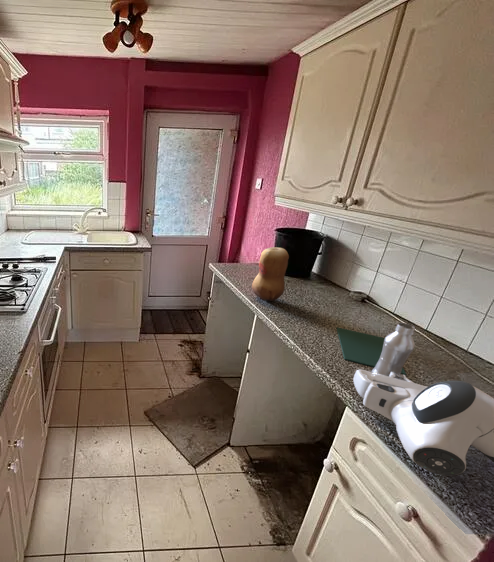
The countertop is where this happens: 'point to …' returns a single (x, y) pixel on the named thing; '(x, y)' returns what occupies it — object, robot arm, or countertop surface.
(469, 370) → the countertop surface
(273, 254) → the butternut squash
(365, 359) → the rubber mat
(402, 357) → the plastic bottle
